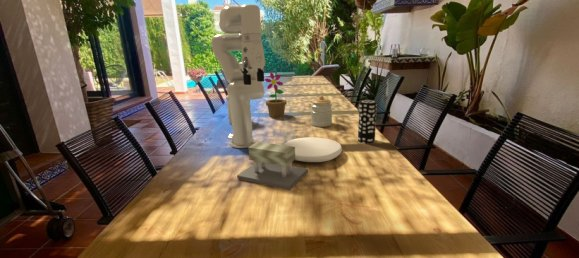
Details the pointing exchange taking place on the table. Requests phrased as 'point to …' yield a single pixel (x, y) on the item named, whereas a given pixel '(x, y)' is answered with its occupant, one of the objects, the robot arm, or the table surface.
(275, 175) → the peg stand
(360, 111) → the spotted tube
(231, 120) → the utensil holder
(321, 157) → the plate
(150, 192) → the table surface
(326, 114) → the jar
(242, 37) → the robot arm
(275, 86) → the flowerpot
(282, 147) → the pale green rectangular block
